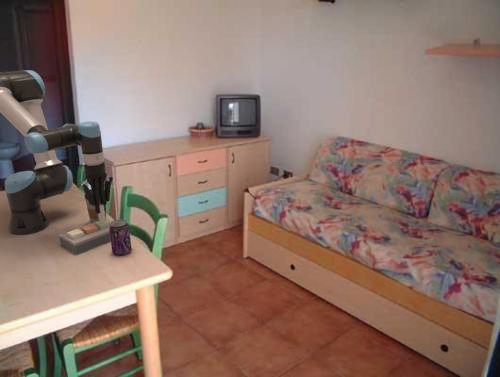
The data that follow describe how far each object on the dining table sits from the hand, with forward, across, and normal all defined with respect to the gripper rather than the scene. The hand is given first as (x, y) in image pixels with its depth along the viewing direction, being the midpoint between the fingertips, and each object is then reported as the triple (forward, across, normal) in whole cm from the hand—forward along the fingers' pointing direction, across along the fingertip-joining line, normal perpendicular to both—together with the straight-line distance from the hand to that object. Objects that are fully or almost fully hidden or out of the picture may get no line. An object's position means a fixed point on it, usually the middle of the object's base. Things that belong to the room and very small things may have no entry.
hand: (102, 219), depth 177 cm
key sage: (+4, 0, 0) cm, 4 cm away
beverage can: (+8, -3, -17) cm, 19 cm away
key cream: (+4, -12, 0) cm, 12 cm away
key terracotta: (+4, -6, 0) cm, 7 cm away
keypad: (+7, -6, 0) cm, 9 cm away
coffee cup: (+8, +5, +13) cm, 16 cm away
